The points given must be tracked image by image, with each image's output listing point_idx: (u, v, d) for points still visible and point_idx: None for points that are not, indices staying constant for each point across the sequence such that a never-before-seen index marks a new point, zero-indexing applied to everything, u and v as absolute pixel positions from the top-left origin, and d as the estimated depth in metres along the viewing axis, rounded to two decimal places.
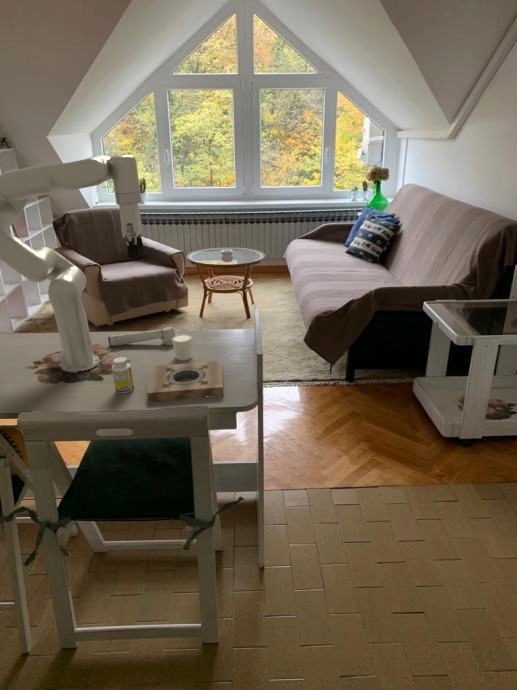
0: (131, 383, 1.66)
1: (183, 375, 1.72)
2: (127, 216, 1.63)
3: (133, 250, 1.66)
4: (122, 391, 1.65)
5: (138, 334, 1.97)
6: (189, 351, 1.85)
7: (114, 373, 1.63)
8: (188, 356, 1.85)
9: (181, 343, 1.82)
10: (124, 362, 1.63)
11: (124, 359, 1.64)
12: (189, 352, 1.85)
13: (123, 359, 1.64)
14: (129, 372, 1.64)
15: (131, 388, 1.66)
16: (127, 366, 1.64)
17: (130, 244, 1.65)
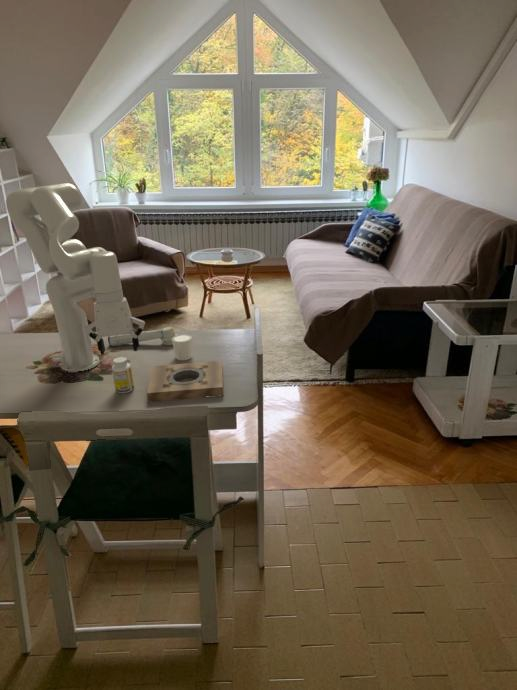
0: (131, 383, 1.66)
1: (183, 375, 1.72)
2: (129, 309, 1.57)
3: (138, 341, 1.62)
4: (122, 391, 1.65)
5: None
6: (189, 351, 1.85)
7: (114, 373, 1.63)
8: (188, 356, 1.85)
9: (181, 344, 1.82)
10: (124, 362, 1.63)
11: (124, 359, 1.64)
12: (189, 352, 1.85)
13: (123, 359, 1.64)
14: (129, 372, 1.64)
15: (131, 388, 1.66)
16: (127, 366, 1.64)
17: (138, 335, 1.60)
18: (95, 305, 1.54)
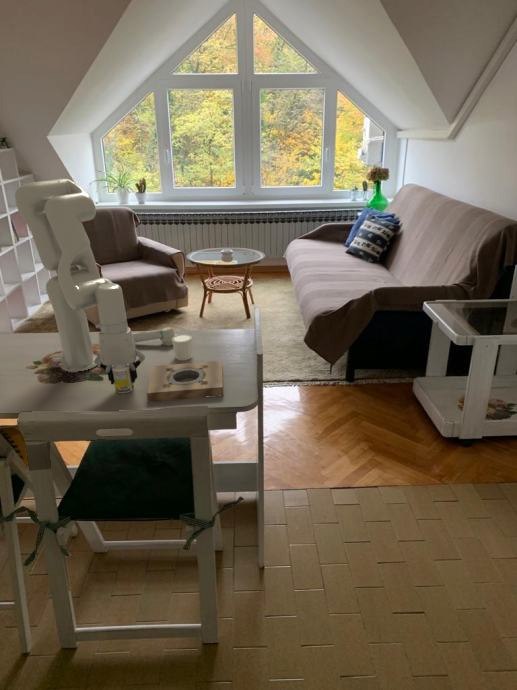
0: (131, 383, 1.66)
1: (183, 375, 1.72)
2: (133, 339, 1.61)
3: (136, 372, 1.66)
4: (122, 391, 1.65)
5: (137, 334, 1.97)
6: (189, 351, 1.85)
7: (114, 373, 1.63)
8: (188, 356, 1.85)
9: (181, 344, 1.82)
10: None
11: None
12: (189, 352, 1.85)
13: None
14: (129, 372, 1.64)
15: (131, 388, 1.66)
16: (127, 366, 1.64)
17: None
18: (100, 335, 1.58)
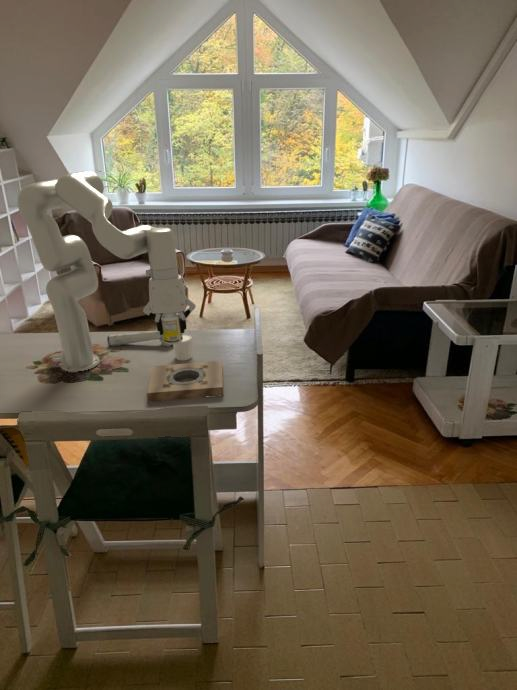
0: (180, 334, 1.60)
1: (183, 375, 1.72)
2: None
3: (185, 323, 1.61)
4: (171, 342, 1.60)
5: (137, 334, 1.97)
6: (189, 351, 1.85)
7: (163, 322, 1.58)
8: (188, 356, 1.85)
9: (181, 343, 1.82)
10: None
11: None
12: (189, 352, 1.85)
13: None
14: (179, 322, 1.59)
15: (180, 339, 1.61)
16: (177, 315, 1.58)
17: None
18: (151, 282, 1.53)
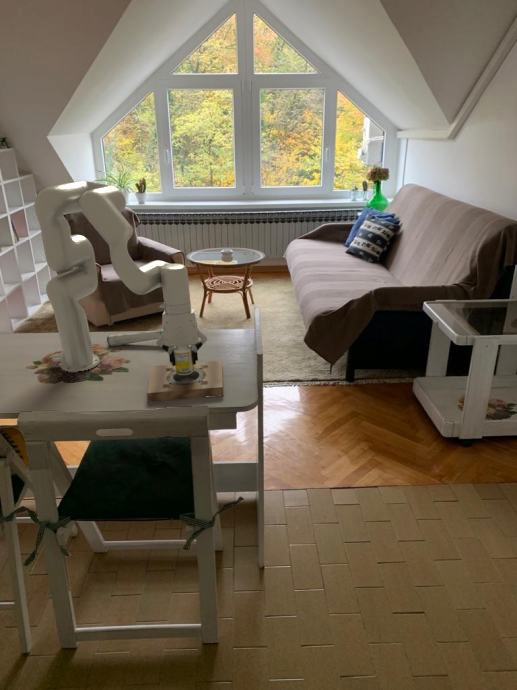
0: (192, 365, 1.65)
1: (183, 375, 1.72)
2: None
3: (197, 354, 1.65)
4: (183, 373, 1.64)
5: (137, 334, 1.97)
6: None
7: (176, 354, 1.62)
8: None
9: None
10: None
11: None
12: None
13: None
14: (191, 354, 1.63)
15: (192, 370, 1.65)
16: (189, 347, 1.63)
17: None
18: (164, 316, 1.57)
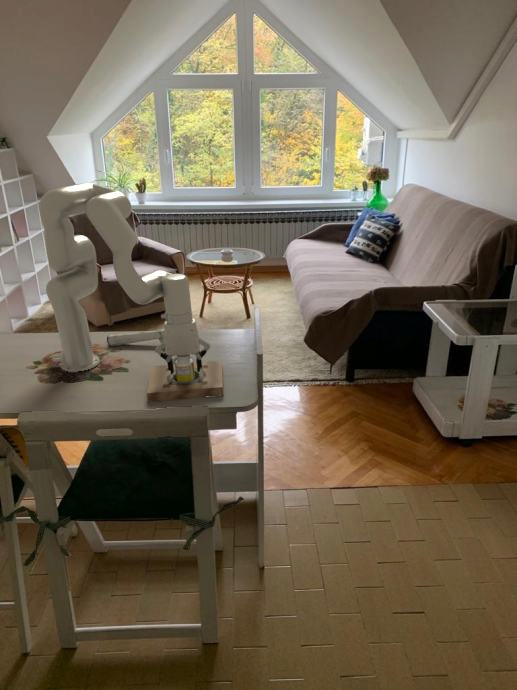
0: (193, 378, 1.67)
1: None
2: (197, 330, 1.62)
3: (201, 362, 1.66)
4: None
5: (136, 334, 1.97)
6: None
7: (177, 368, 1.64)
8: None
9: None
10: (188, 357, 1.64)
11: None
12: None
13: None
14: (192, 367, 1.65)
15: None
16: (190, 361, 1.65)
17: None
18: (166, 326, 1.58)
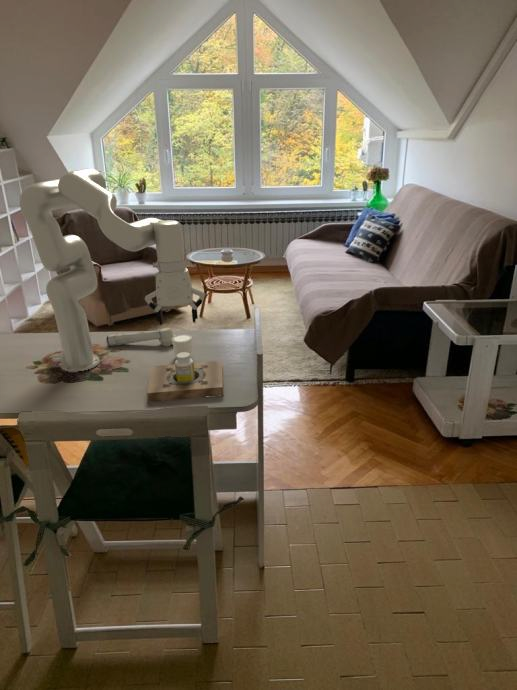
0: (193, 378, 1.67)
1: None
2: (190, 280, 1.56)
3: None
4: None
5: (136, 334, 1.97)
6: (189, 351, 1.85)
7: (177, 368, 1.64)
8: None
9: (181, 344, 1.82)
10: (188, 357, 1.64)
11: (187, 354, 1.65)
12: (189, 352, 1.85)
13: (186, 354, 1.65)
14: (192, 367, 1.65)
15: None
16: (190, 361, 1.65)
17: None
18: (158, 274, 1.53)
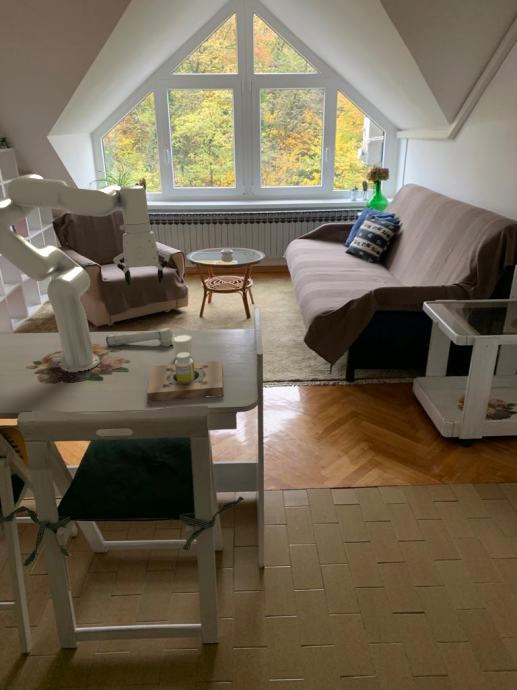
0: (193, 378, 1.67)
1: None
2: (155, 242, 1.67)
3: None
4: None
5: (135, 334, 1.97)
6: (189, 351, 1.85)
7: (177, 368, 1.64)
8: None
9: (181, 344, 1.82)
10: (188, 357, 1.64)
11: (187, 354, 1.65)
12: (189, 352, 1.85)
13: (186, 354, 1.65)
14: (192, 367, 1.65)
15: None
16: (190, 361, 1.65)
17: None
18: (124, 236, 1.64)
